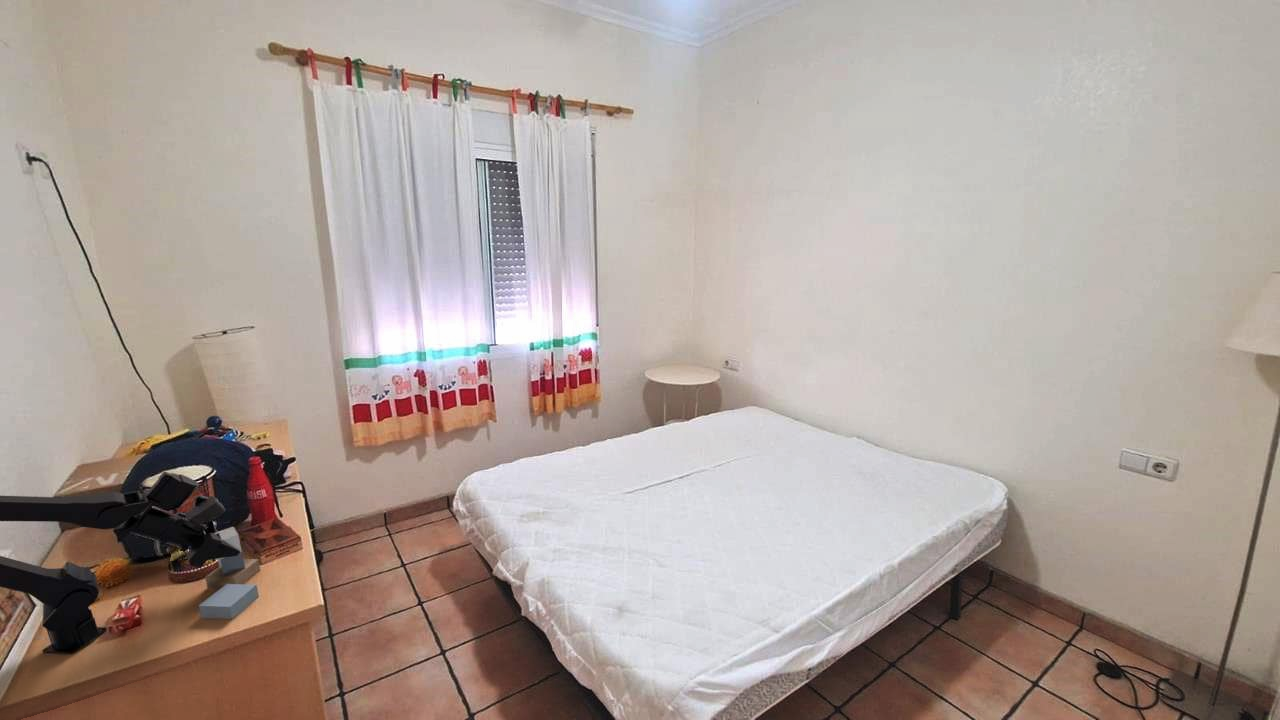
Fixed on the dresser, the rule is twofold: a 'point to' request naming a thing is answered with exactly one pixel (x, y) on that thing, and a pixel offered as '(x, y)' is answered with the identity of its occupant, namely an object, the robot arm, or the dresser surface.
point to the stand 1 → (233, 575)
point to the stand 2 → (228, 601)
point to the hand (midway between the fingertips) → (236, 548)
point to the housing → (234, 562)
